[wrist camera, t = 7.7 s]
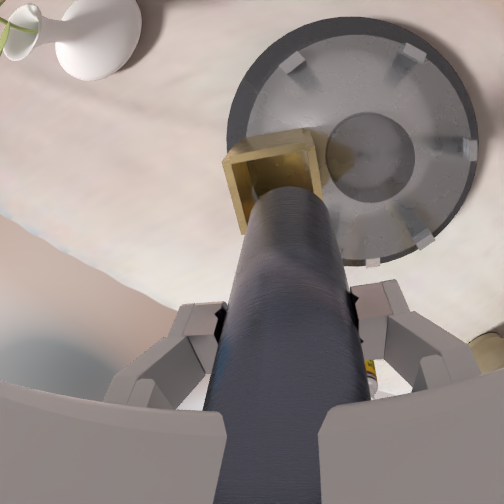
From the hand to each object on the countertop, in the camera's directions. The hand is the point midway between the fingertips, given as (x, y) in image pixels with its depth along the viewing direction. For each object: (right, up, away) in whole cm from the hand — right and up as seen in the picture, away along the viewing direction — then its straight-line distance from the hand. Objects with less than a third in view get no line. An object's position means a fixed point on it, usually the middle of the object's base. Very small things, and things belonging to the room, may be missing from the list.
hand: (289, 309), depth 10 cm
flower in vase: (-18, +27, +16) cm, 36 cm away
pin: (+1, +3, +5) cm, 6 cm away
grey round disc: (+9, +11, +17) cm, 22 cm away
